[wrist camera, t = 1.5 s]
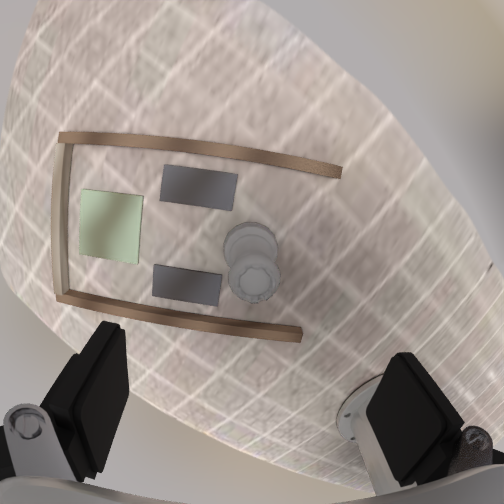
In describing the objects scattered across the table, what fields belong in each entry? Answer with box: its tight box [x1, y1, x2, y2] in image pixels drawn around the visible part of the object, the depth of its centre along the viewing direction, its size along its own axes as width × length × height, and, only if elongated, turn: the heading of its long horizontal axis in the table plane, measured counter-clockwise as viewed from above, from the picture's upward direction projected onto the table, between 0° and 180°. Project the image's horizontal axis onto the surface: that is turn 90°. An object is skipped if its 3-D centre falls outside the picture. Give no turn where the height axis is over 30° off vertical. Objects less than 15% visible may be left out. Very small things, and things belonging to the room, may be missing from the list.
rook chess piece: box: [224, 222, 281, 303], centre depth 22 cm, size 4×4×8 cm
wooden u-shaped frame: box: [51, 132, 343, 343], centre depth 25 cm, size 24×16×2 cm, turn 80°
